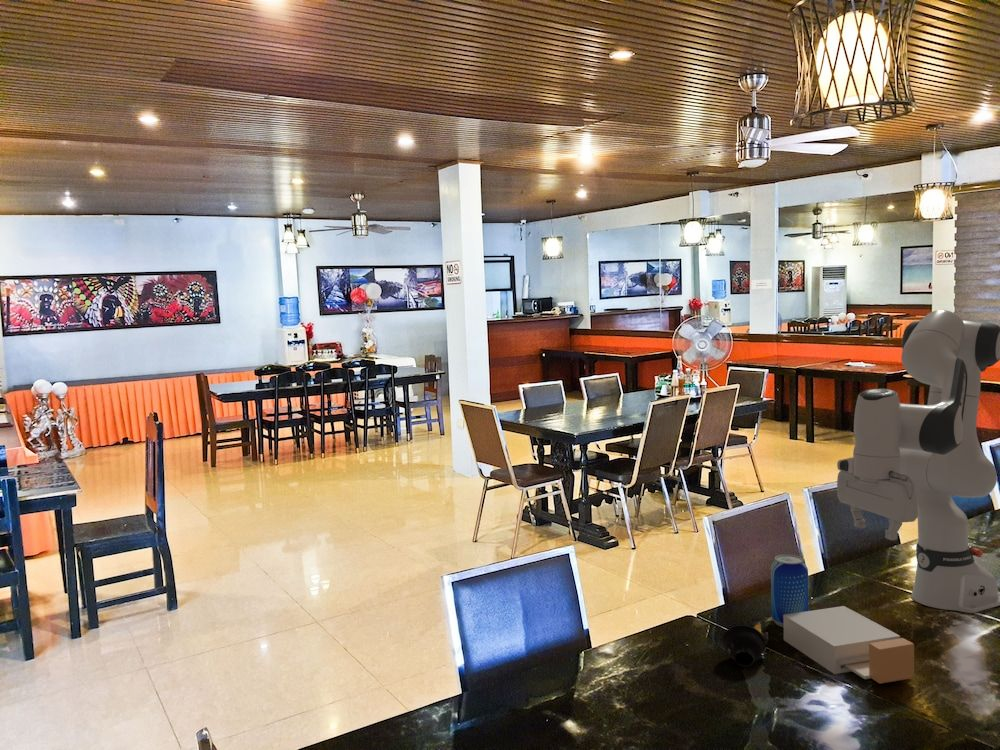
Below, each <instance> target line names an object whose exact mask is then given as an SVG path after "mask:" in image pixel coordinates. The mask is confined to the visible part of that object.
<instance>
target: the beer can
mask: <svg viewBox="0 0 1000 750" xmlns="http://www.w3.org/2000/svg"><path fill="white" fill-rule="evenodd" d="M770 593H771V594H770V597H771V598H770V599H771V601H770V602H771V603H770V604H771V619H772V620H773V621H774V623H775V624H776V625H777V626H778V627H780V628H783V629H784V624H783V615H786V614H792V613H799V612H806V611H810V610H809V568H808V567H807V565H806V563H805V560H804V558H803V557H801V556H799V555H795V554H778V555H776V556H775V557H774V561H773V562H772V564H771V566H770Z"/></svg>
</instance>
